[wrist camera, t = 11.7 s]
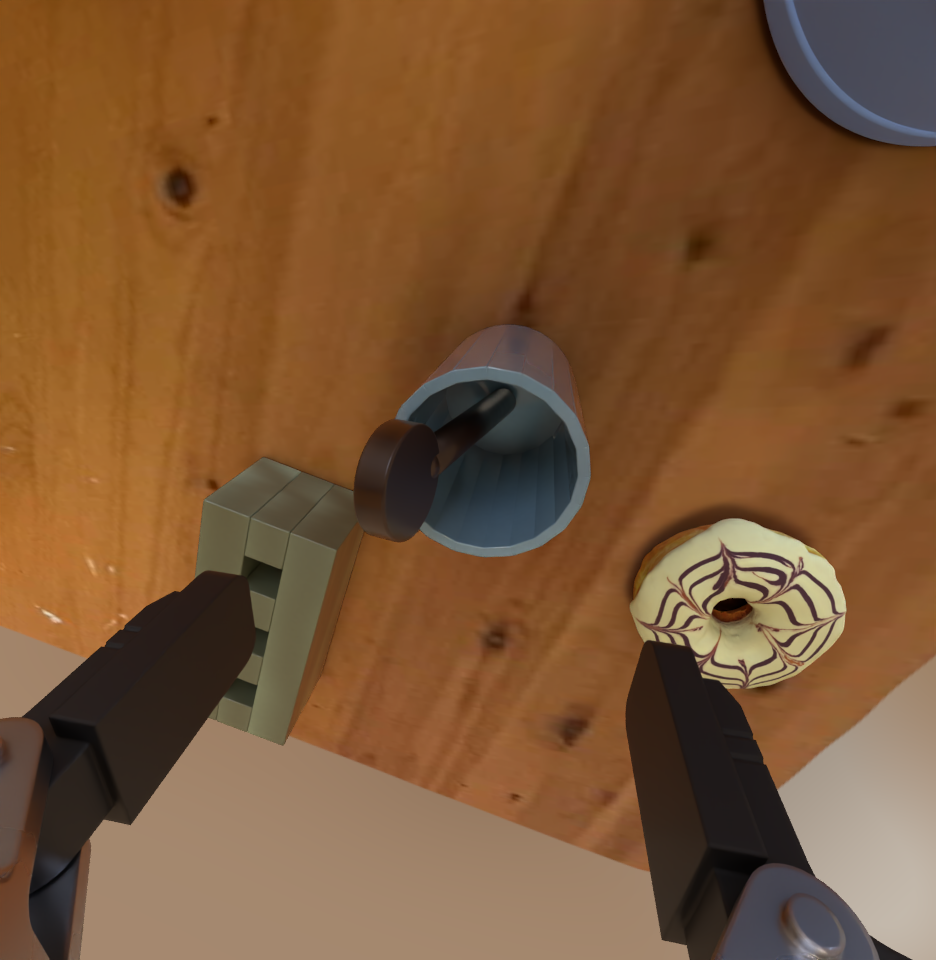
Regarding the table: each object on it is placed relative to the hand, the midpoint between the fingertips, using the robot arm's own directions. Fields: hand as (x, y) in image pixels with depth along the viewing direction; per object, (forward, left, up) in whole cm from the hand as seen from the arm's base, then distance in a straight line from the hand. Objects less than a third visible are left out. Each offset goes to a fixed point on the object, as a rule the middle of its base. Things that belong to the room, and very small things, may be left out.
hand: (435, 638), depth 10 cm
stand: (-12, -16, -19) cm, 28 cm away
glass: (0, 0, -19) cm, 19 cm away
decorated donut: (+15, -9, -19) cm, 26 cm away
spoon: (0, 0, -18) cm, 18 cm away
